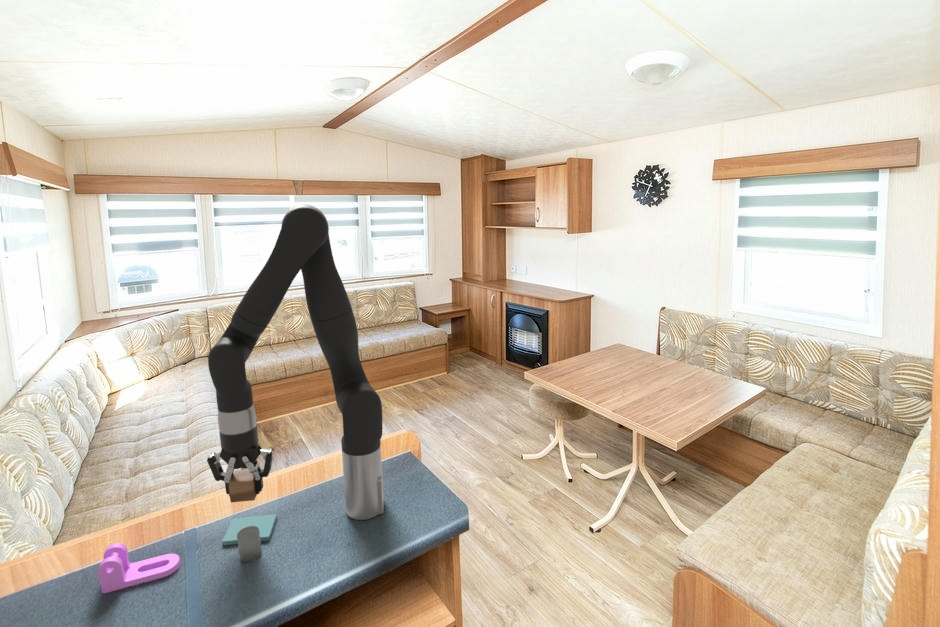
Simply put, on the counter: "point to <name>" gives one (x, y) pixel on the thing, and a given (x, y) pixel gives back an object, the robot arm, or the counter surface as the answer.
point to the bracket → (132, 568)
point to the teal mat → (261, 522)
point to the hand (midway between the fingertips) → (245, 493)
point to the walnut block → (242, 486)
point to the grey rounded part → (249, 543)
